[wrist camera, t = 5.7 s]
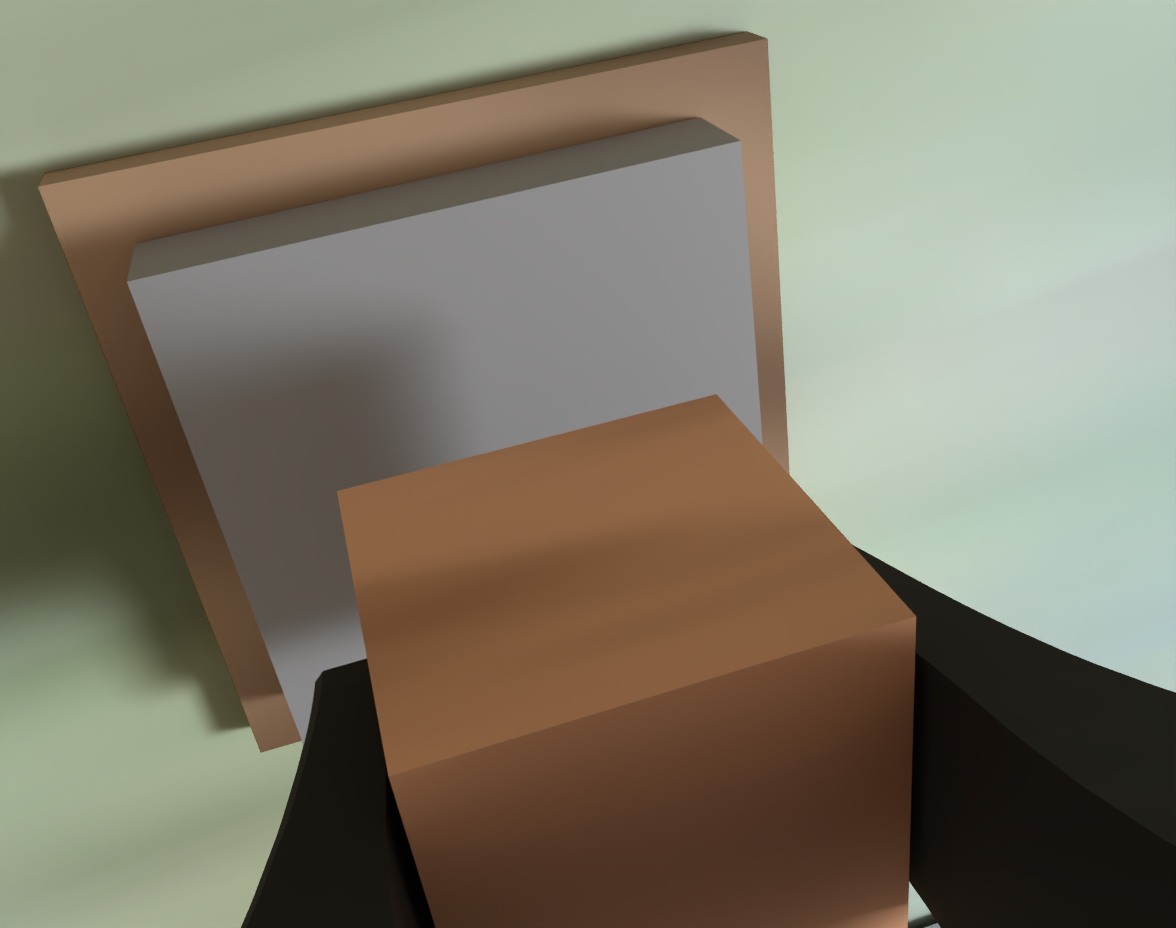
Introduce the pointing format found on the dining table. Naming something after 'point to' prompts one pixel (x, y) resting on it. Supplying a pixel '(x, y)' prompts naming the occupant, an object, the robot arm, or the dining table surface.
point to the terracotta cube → (636, 685)
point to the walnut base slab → (361, 164)
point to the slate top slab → (439, 343)
